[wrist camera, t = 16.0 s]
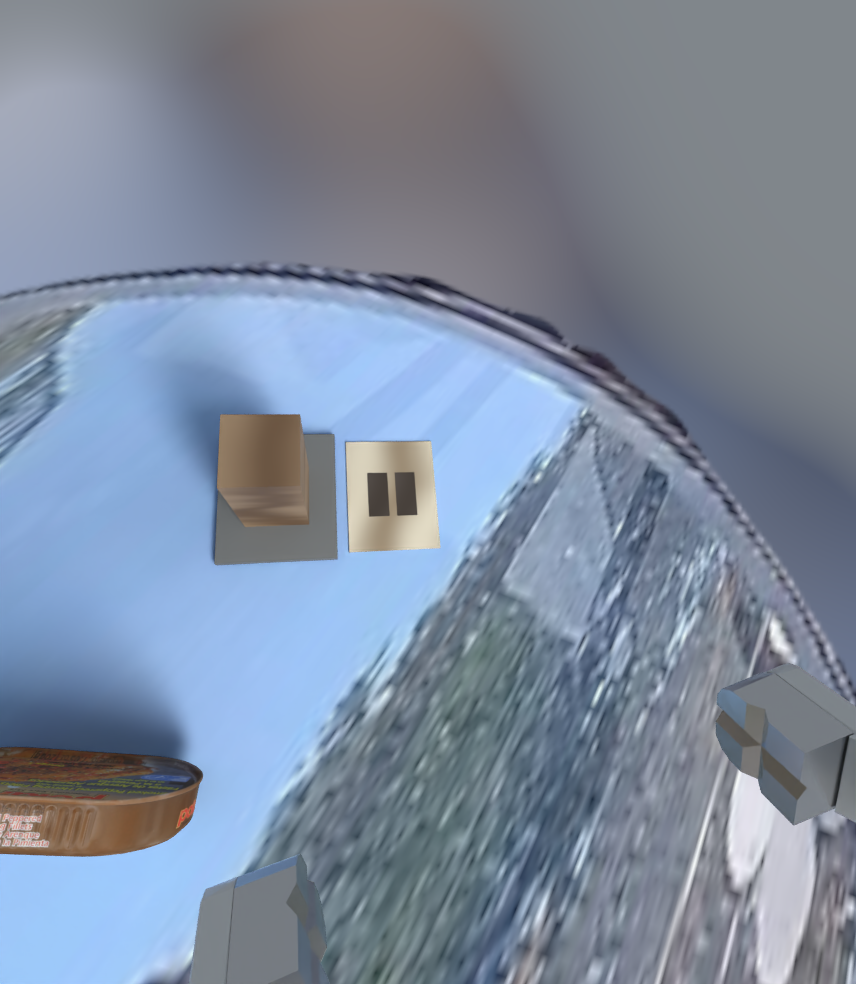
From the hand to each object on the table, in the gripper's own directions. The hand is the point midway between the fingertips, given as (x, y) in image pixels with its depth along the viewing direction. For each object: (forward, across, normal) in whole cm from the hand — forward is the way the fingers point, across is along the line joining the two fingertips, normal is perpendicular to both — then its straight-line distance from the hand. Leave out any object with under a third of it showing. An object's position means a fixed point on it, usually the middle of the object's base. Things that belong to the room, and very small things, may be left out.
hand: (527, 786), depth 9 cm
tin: (+22, +21, +16) cm, 34 cm away
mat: (+32, +6, +5) cm, 33 cm away
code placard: (+31, -2, +7) cm, 32 cm away
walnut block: (+32, +6, +4) cm, 32 cm away
